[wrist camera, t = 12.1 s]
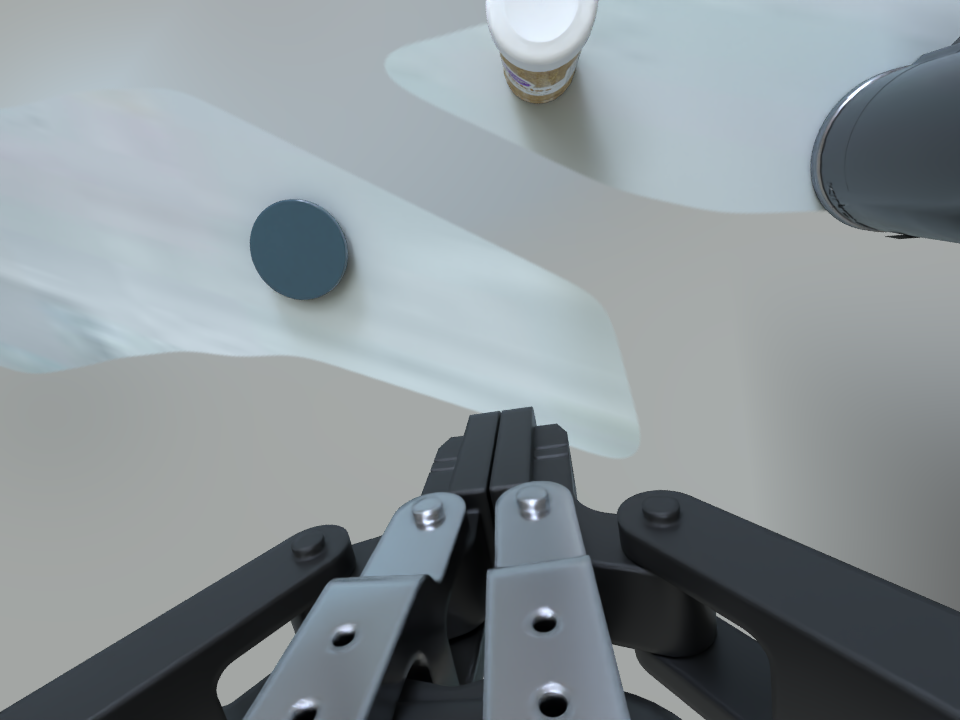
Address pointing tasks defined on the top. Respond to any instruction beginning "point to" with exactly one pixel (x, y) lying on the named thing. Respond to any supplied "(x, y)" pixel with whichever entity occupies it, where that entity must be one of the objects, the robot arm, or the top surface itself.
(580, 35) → the sprinkles bottle
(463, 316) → the top surface
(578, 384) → the top surface
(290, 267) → the plate
